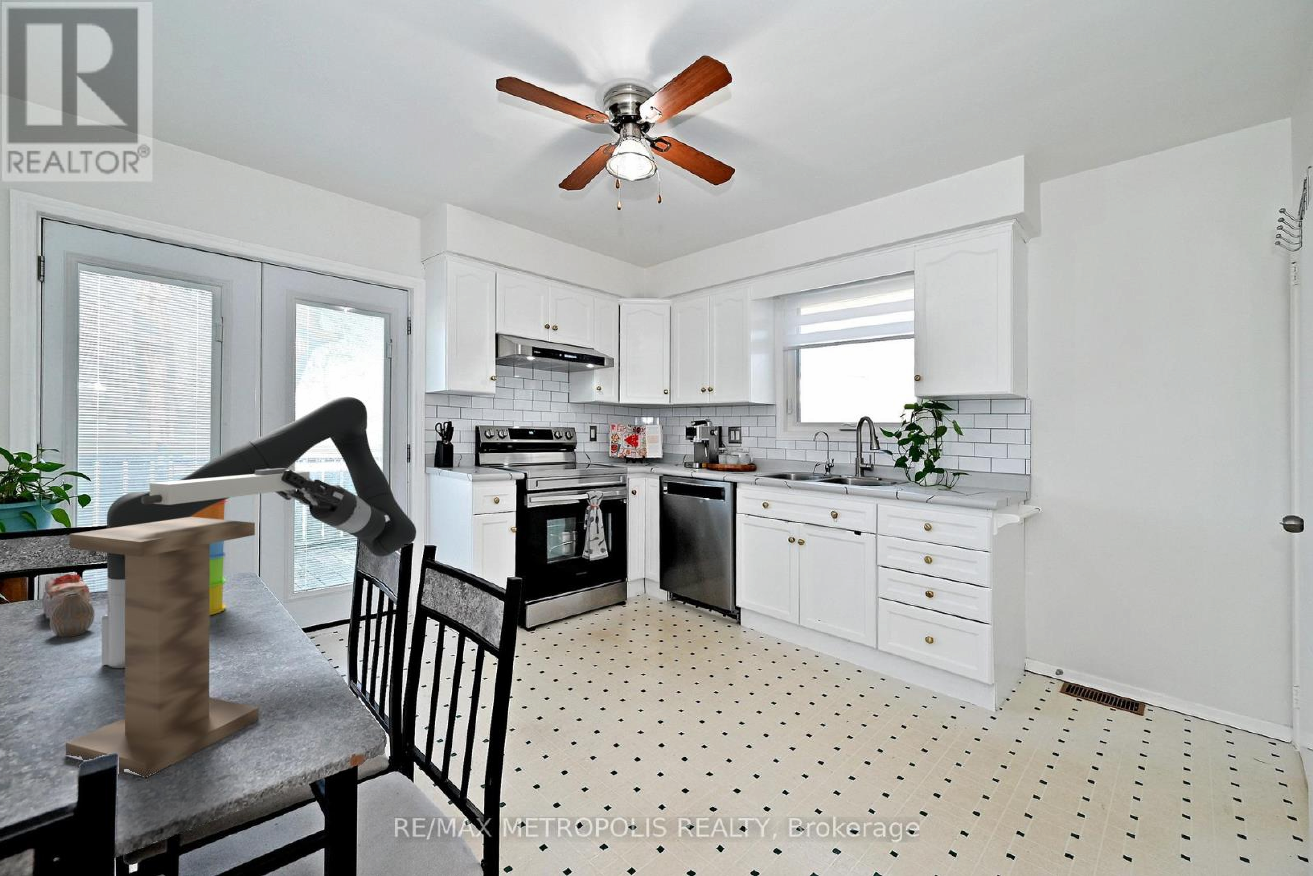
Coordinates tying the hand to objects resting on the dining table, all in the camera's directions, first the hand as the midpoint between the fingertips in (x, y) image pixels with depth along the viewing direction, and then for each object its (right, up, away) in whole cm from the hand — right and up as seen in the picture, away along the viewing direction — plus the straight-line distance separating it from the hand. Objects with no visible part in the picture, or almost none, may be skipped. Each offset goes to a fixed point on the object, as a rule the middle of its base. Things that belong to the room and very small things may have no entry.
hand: (275, 474), depth 102 cm
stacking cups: (-45, -37, +39) cm, 70 cm away
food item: (-74, -37, +35) cm, 89 cm away
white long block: (-2, -3, -6) cm, 7 cm away
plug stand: (-6, -39, -16) cm, 42 cm away
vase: (-61, -37, +23) cm, 75 cm away
